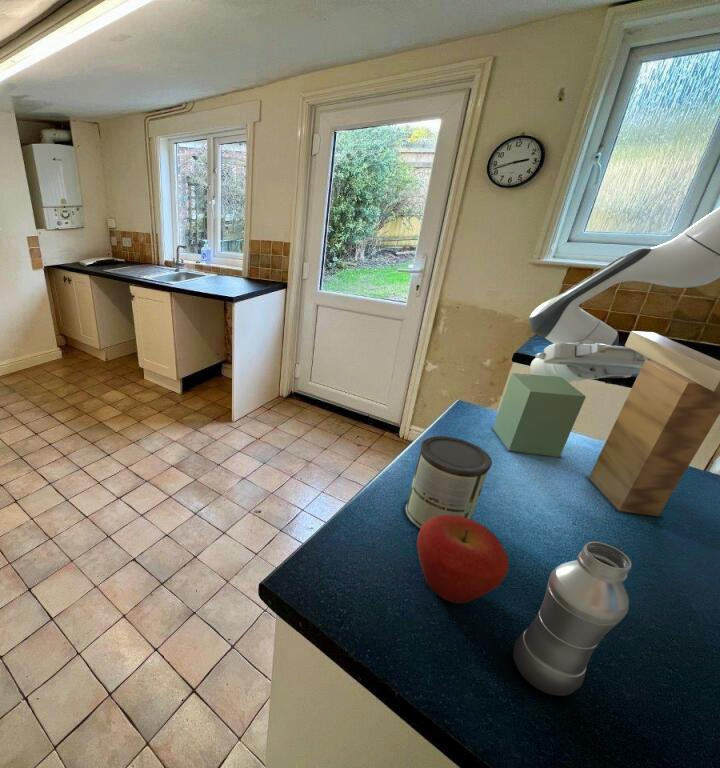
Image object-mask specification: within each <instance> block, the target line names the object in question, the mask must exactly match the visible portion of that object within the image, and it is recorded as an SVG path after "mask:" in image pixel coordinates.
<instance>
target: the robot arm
mask: <svg viewBox="0 0 720 768" xmlns="http://www.w3.org/2000/svg"><path fill="white" fill-rule="evenodd" d="M718 279H720V206H719V207H718V208H716V209H715V210H713V211H712V212H710V213H708V214H707V215H705V216H704V217H702V218H701V219H700V220H698V221H696V222H695V223H694V224H692V225H691V226H690V227H688V228H687V229H686V230H684V232H682V233H680V234H679V235H678V236H676V237H675V238H673V239H671V240H669V241H667V242H665V243H662V244H659V245H657V246H653V247H639V248H637V249H634V250H632V251H629V252H628V253H626V254H624V255H622V256H620V257H618V258H617V259H615V260H613V261H612V262H610V263H608V264H607V265H605V266H604V267H601V268H600V269H599V270H597V271H595V272H593V273H592V274H590V275H589V276H587V277H586V278H583V279H582V280H581V281H579V282H578V283H576V284H574V285H573V286H570V287H569V288H567V289H566V290H564V291H563V292H561V293H559V294H557V295H556V296H553V297H551V298H550V299H548V300H546V301H544V302H542V303H540V305H538V306H537V307H536V308H535V309H534V310H533V311H532V312H531V314H530V315H529V316H528V321H529V322H528V324H529V329H530V331H531V333H534V334H536V335H537V336H539V337H541V338H543V339H546V340H547V341H549V342H550V343H552V344H550V345H547V346H546V347H545V348H544V349H543V352H539V353H536V354H535V358H533V360H532V361H531V363H530V367H529V368H530V372H531V375H541V376H553V377H562V378H563V379H564V380H566V381H567V382H568V383H569V384H570V383H572V382H580V381H587V380H590V381H591V380H598V379H621V378H623V379H624V378H625V379H627V378H630V377H632V375H634V374H639V372H640V370H641V368H642V366H643V364H644V362H645V360H650V361H654V360H652V359H650V358H648V357H646V356H644V355H642V354H640V353H638V352H636V351H634V350H632V349H630V348H628V347H627V346H621V345H619V342H620V341H619V340H620V337H619V332H618V330H615V329H614V328H613V327H612V326H610V325H609V324H607V323H605V322H604V321H602V320H601V319H599V318H598V317H595V316H594V315H592V314H590V313H589V312H587V311H586V310H584V309H583V308H581V307H580V305H581V304H584V302H586V301H588V300H590V299H592V298H593V297H595V296H597V295H598V294H600V293H603V292H604V291H605V290H608V289H609V288H610V287H612V286H614V285H617V284H620V283H624V282H640V283H646V284H647V283H648V284H653V285H657V286H662V287H669V288H677V289H686V288H687V289H688V288H697V287H701V286H705V285H708V284H710V283H713V282H714V281H716V280H718Z"/></svg>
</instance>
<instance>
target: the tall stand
mask: <svg viewBox="0 0 720 768" xmlns="http://www.w3.org/2000/svg"><path fill="white" fill-rule="evenodd" d="M719 417H720V392H713V391H712V390H710V389H708V388H706V387H704V386H702V385H700V384H698V383H696V382H694V381H692V380H690V379H688V378H686V377H684V376H683V375H681V374H679V373H677V372H675V371H673V370H671V369H669V368H667V367H665V366H663V365H661V364H659V363H657V362H655V361H650V360H645V362H644V364H643V366H642V368H641V370H640V372H639V373H637V376H636V378H635V380H634V383H633V385H632V386H631V389H630V391H629V393H628V395H627V397H626V399H625V401H624V403H623V406H622V408H621V410H620V411H619V414H618V416H617V418H616V420H615V422H614V424H613V426H612V428H611V430H610V432H609V434H608V437H607V439H606V440H605V443H604V444H603V447H602V449H601V451H600V452H599V454H598V457H597V459H596V461H595V463H594V466H593V468H592V470H591V472H590V473H589V475H588V479H589V480H590V481H591V482H592V483H593V485H595V486H596V488H597V489H598V490H599V491H600V492H601V493H602V494H603V495H604V496H605V498H606V499H607V500H608V501H609V502H610V503H611V504H612V505H613V506H614V507H615V508H616V509H617V510H618V512H625V513H631V514H637V515H644V516H653V517H659V516H660V514H661V512H662V511H663V510H664V508H665V506H666V504H667V503H668V501H669V499H670V498H671V496H672V494H673V492H674V491H675V489H676V488H677V486H678V485H679V483H680V481H681V479H682V478H683V476H684V474H685V473H686V471H687V469H688V468H689V466H690V464H691V463H692V461H693V459H694V458H695V456H696V454H697V453H698V451H699V449H700V448H701V446H702V444H703V443H704V441H705V439H706V438H707V436H708V434H709V433H710V431H711V430H712V427H713V426H714V424H715V423H716V422H717V419H718V418H719Z"/></svg>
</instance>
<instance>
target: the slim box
mask: <svg viewBox="0 0 720 768" xmlns="http://www.w3.org/2000/svg"><path fill="white" fill-rule="evenodd" d="M624 347H628V348H630V349H632V350H634V351H636V352H638V353H640V354H642V355H644V356H646V357H648V358H650V359H652V360H654V361H655V362H657V363H659V364H661V365H663V366H665V367H667V368H669V369H671V370H673V371H675V372H677V373H679V374H681V375H683V376H684V377H686V378H688V379H690V380H692V381H694V382H696V383H698V384H700V385H702V386H704V387H706V388H708V389H710V390H712V391H713V392H720V360H718V359H716V358H714V357H711V356H709V355H707V354H705V353H702V352H700V351H698V350H695V349H693V348H690V347H689V346H686V345H684V344H682V343H680V342H677V341H675V340H672V339H670V338H667V337H665V336H663V335H660V334H659V333H656V332H653V331H638V330H637V331H636V330H631V331H630V333H629V335H628V337H627V340H626V341H625V344H624Z"/></svg>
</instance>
